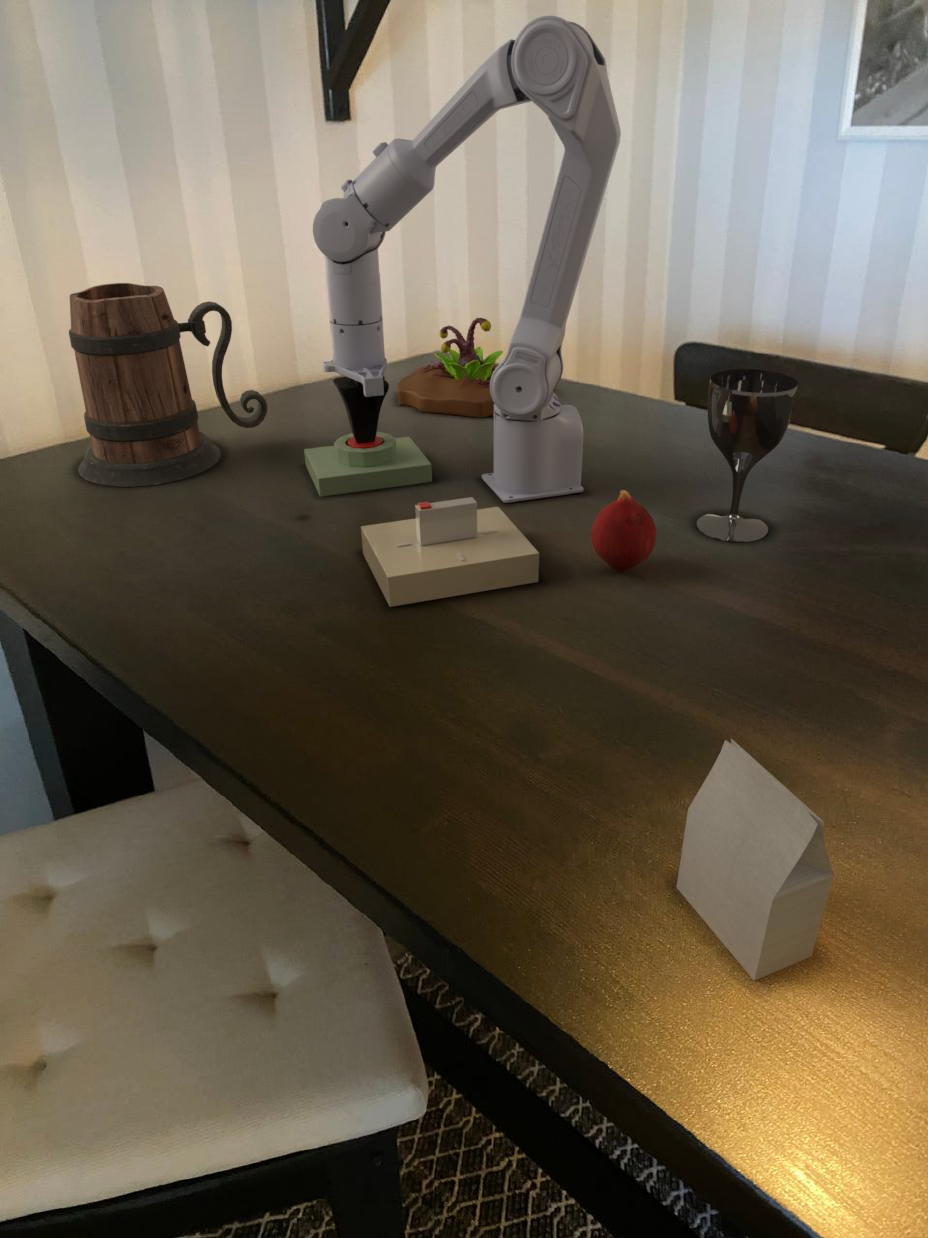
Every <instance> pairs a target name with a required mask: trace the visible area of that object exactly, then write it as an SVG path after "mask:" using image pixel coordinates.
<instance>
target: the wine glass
mask: <svg viewBox="0 0 928 1238" xmlns="http://www.w3.org/2000/svg"><path fill="white" fill-rule="evenodd" d="M708 384H709V385H708V393H707V404H706V405H707V422H708V430H709V434H710V438H711V440H712V442H713V444H714V445H715V446H716V448H717V449H718V451H719V452H720V453H721V454H722V456H723V457H724V459H725V460H726V461H727V464H728V465H729V468H730V470H731V474H732V475H731V476H732V494H731V495H732V496H731V503H730V504H731V505H730V510H729V511H719V512H718V511H717V512H710V513H707V514H704V515H702V516H700V517H699V518H698V519H697V520H696V522H695V525H696V526H695V527H696V528H697V530H698V531H700V533H702V534H704V535H705V536H707V537H710V538H711V539H716V540H719V541H723V542H732V543H749V542H754V541H758V540H761V539H764V538H765V537H766V536H767V535H768V533H769V527H768V525H767V524H766V523H765V522H764V521H763V520H761V519H759V518H756V517H754V516H752V515H748V514H746V513H740V512H739V509H740V503H741V497H742V493H743V489H744V487H745V483H746V480H747V477H748V475H749V473H750V472H751V471H752V469H753V468H754V466H756V465H757V463H759V462H760V461H761V460H762V459H764V458H765V457H766V456H767V455H769V454H770V453H771V452H772V451H773V450H775V449H776V447H777V446H779V444H780V443H781V442H782V440H783V438H784V437H785V434H786V432H787V429H788V427H789V425H790V422H791V419H792V416H793V414H794V409H795V404H796V399H797V394H798V390H799V389H798V387H799V381H798V380H797V379H796V378H794V377H792V376H790V375H787V374H785V373H781V372H776V371H773V370H764V369H754V368H753V369H752V368H751V369H750V368H738V369H727V370H721V371H718V372H715V373H714V374H712V375H711V376H710V378H709V383H708Z"/></svg>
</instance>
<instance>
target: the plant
mask: <svg viewBox="0 0 928 1238" xmlns="http://www.w3.org/2000/svg"><path fill="white" fill-rule="evenodd" d="M478 324H479V327H480V328H481V330H482V331H484V332H485V333H486V332H490V331H491V329H492V324H491V322H490V320H488V319H487V318H484V317H476V318H475V319H474V320H472V322H471V324H470V326H469V327H468V329H467V334H466V339H465V338H464V336H463V334H462V332H461V331H460V330H459V329H457V328H456V327H454V326H453V325H447V326H443V327H442V328H441V329H440V330H439V333H438V334H439V337H440V338H441V339H446V338H448V336H449V331H451V332H452V334H455V335H454V336H455V337H456V338H450V339H449V340H446V341H444V342H443V343H442V344H441V346H440V350H441V353H437V352H434V356H435V357H437V359H439V360H440V361H439V362H438V363H435V364H427V365H425V366H421V367H419V368H417V369H416V370H414V371H413V372H411V373H410V374H409V375H407V376H405V377H402V378H401V379H400V380H399V382H398V383H397V384H396V395H397V404H398V405H399V406H407V407H412V408H415V409H417V410H418V411H419V412H422V413H431V414H439V415H441V414H442V415H451V416H461V417H469V418H477V419H484V418H487V417H490V416H494V404H495V403H494V402H493V399H492V397H491V393H490V380H491V376H492V374H493V372H494V370H495V369H496V368H497V366H498V365H499V364H496V362H497V360H498V359H499V357H500V356H501V355H502V354H503V353H504V352H503V350H497V351H494V352H492V353H490V354H489V355H488V356H486V357H485V358H484V353H483V348H482V346H477V347H476V348H475V330H476V326H477V325H478ZM448 330H449V331H448ZM452 344H455V345H456V346H457V348H458V351H459V352H457V351H456V350H454V349H452V346H451V345H452ZM445 354H449V356H450V357H448V356H447V355H445ZM441 361H442V362H441Z"/></svg>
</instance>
